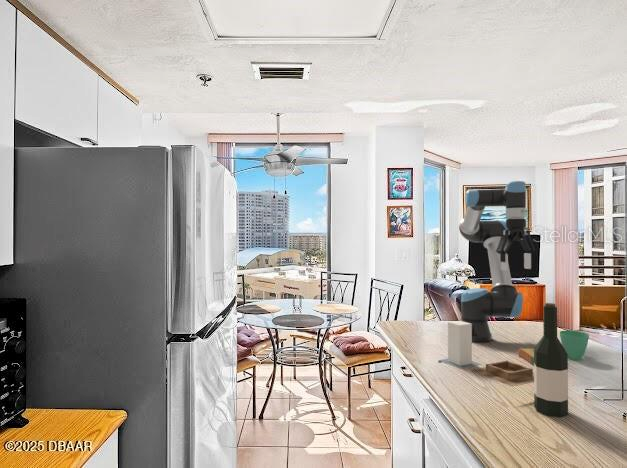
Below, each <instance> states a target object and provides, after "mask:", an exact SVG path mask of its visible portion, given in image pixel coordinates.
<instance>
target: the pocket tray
mask: <svg viewBox="0 0 627 468" xmlns="http://www.w3.org/2000/svg"><path fill="white" fill-rule="evenodd" d="M470 371H472V372H474V373H477V374H479V375H483V376H484V377H487V378H489V379H492V380H494V381H497V382H499V383H502V384H505V385H508V386H510V387H512V388H513V387H517V386H521V385H526V384H530V383H534V368H532V367H528V366H525V365H523V364H519V363H516V362H513V361H510V360H502V361H501V360H500V361H496V362H492V363H491V362H490V363H486V364H485V366H483V367H477V368H472V369H470Z"/></svg>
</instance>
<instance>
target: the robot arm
mask: <svg viewBox="0 0 627 468" xmlns="http://www.w3.org/2000/svg"><path fill="white" fill-rule="evenodd" d="M526 191H527V187H526V182H525V181H521V180H514V181H513V180H512V181H508V182H506V183H505V188H500V189H499V188H498V189H497V188H494V189H469V190H467V191H466V192H465V194H464V195H465V196H464V202H465V203H464V204H465V206H466V211H465V214H464V217H463V218H462V219H461V220H460V222H459V226H458V229H459V233H460V234H461V236H462V237H463V238H464V239H466V240H467V241H469V242H472V243H481V244H482V243H483V248H485V249H487V254H488V255H487V256H488V261H489V268H490V269H489V271H490V277H491V282H492V287H491V288H490V289H489V291H488V289H487V288H480V287H478V288H470V289H465V290H463V291H462V292H461V297H460V302H461V303H460V304H461V312H460V313H461V320H460V321H463V322H467V323H471V324H472V343H473V342H474V343H487V342H491V341H492V340H493V336H492V332H491V330H490V326H489V324H488V323H489V321H488V320H489V318H491V317H492V318H509V319H510V318H519V317H520V316H521V314H522V311H523V305H524V303H523V302H524V297H523V294H522V292H520V291H519V292H518V290H517V287H516V286H515V285H513V283H512V275H511V272H510V271H511V270H510V265H509V260H508V259H509V254H508V251H509V249H510V248H511V246H512V244H513V243H514V242H519V244H520V246H521V247H522V249H523V250H524V252H525V253H523V261H524V262H523V267H524V269H527V270H531V269H532V255H533V254H534V253H535V252H536V248H535V245H534V243H533V239H532V237H531V230H530V229H526V227H527V219H526V217H527V212H526V211H527V210H526V209H527V207H526V206H527V192H526ZM486 207H505V218H506V220H498V219H496V220H481V219H482V216H483V213H484V211H485V209H486Z"/></svg>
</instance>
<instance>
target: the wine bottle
mask: <svg viewBox="0 0 627 468" xmlns="http://www.w3.org/2000/svg"><path fill="white" fill-rule="evenodd" d="M542 307H543V308H542V309H543V313H542V314H543V315H542V316H543V322H542V323H543V327H542V328H543V335H542V337H541V339H540V340H539V341H538V343H537V344H536V345H535V346H534V348H533V349H534V366H533V372H534V382H533V384H534V385H533V389H534V390H533V391H534V392H533V393H534V397H533V398H534V403H533V404H534V405H533V406H534V408H535V411H536V412H537V413H540V414H542V415H545V416H548V417H553V418H555V417H556V418H563V417H566V416H568V415H569V367H568V366H569V359H568V354H567V352H566V350H565V349H564V347H563V346H562V342H561V340H560V339H559V337H558V307H557V306H556V304H555V303H551V302H545V303H544V306H542Z"/></svg>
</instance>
